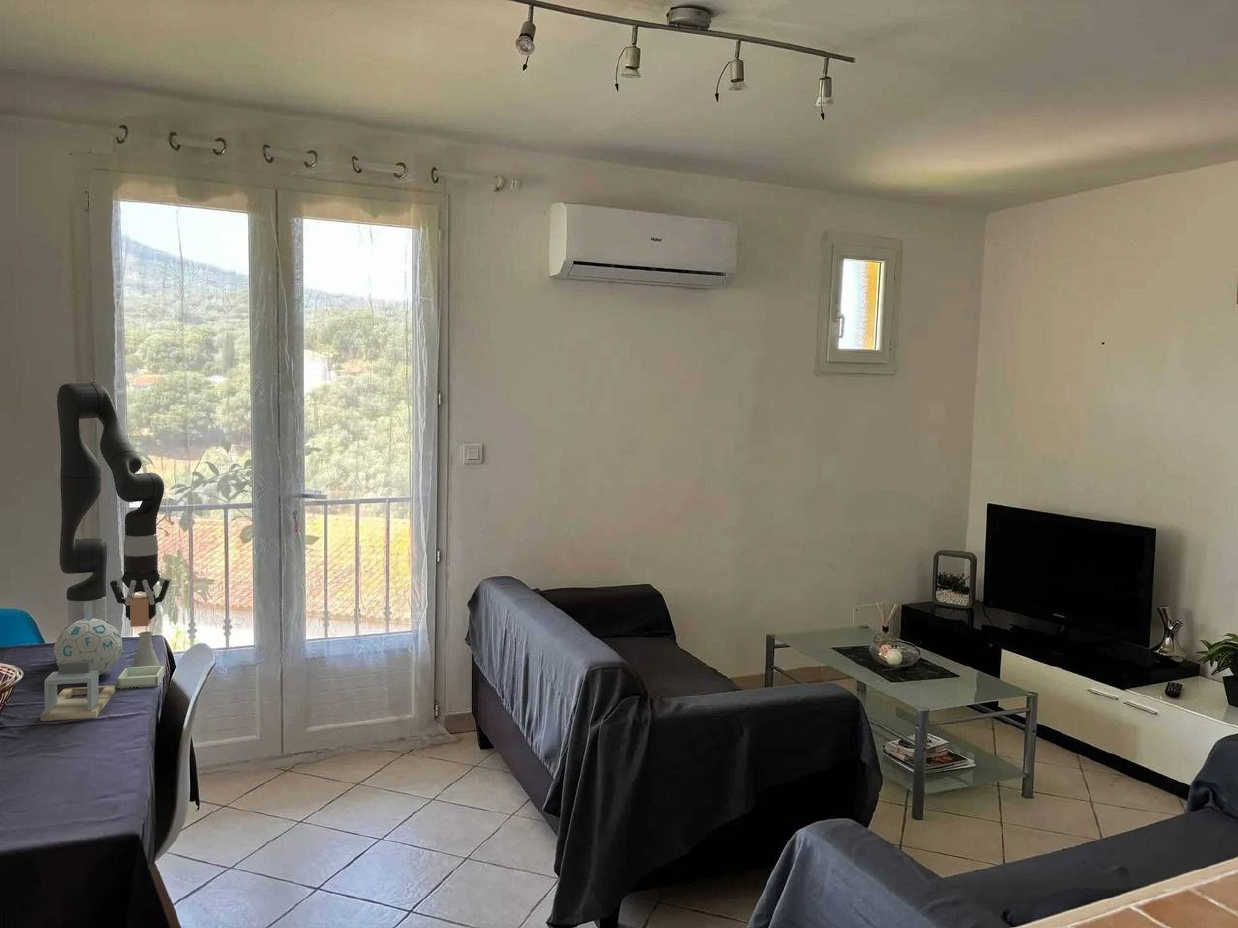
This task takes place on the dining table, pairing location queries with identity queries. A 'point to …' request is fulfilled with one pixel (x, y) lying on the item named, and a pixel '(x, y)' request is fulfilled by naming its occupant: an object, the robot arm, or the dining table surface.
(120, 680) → the pale sage tray
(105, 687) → the puzzle board
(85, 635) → the puzzle ball
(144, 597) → the terracotta block
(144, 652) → the flask
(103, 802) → the dining table surface
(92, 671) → the sliding cover
